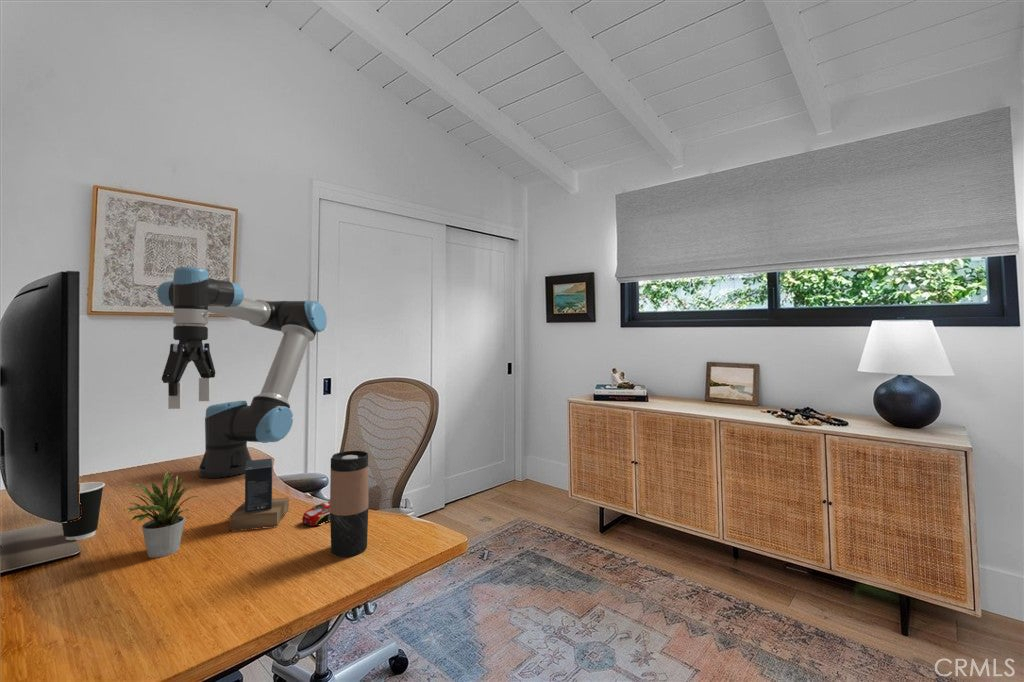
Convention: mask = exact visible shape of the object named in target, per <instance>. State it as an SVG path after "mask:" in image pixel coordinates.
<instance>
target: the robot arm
mask: <svg viewBox="0 0 1024 682" xmlns="http://www.w3.org/2000/svg"><path fill="white" fill-rule="evenodd" d="M156 292H157V293H156V296H157V299H158V301H159V302H160V303H161V304H162V305H164V306H165V307H172V308H173V312H172V313H173V317H172V319H173V320H172V323H173V324H174V325H175V326H174V327H172V329H173V332H172V333H173V336H172V337H173V340H175V341H178V343H170V345H169V353H168V356H167V360H166V364H165V367H164V369H163V372H162V376H161V381H162V382H163V384H167V386H168V387H167V390H168V394H167V395H168V398H167V401H168V402H167V403H168V407H167V408H168V410H173V409H174V410H175V409H176V410H177V409H179V410H180V409H183V383H182V382H181V379H182V377H183V375H184V373H185V372H186V371H185V370H186V368H187V367H188V364H189V363H191V362H193V364H194V366H195V368H196V369H197V372H198V374H199V375H200V377H198V402H211V400H212V399H211V397H212V396H211V393H212V392H211V386H212V385H211V380H212V379H211V378H215V377H216V369H215V366H214V362H213V359H212V355H211V351H210V350H211V349H210V343H208V342H207V343H206V342H205V343H204V342H203V341H207V340H208V339H209V328H208V326H206V325H208V323H209V321H208V318H209V317H210V314H214V315H215V314H216V315H219V316H224V317H228V318H233V319H236V320H241V321H247V322H249V323H250V324H251V325H253V326H256V327H261V328H263V329H269V330H273V331H277V332H282V334H283V336H282V338H281V340H280V343H279V346H278V347H277V351H276V353H275V356H274V359H273V361H272V363H271V366H270V369H269V371H268V373H267V376H266V378H265V380H264V384H263V386H262V389H261V391H260V393H259V394H257V395H255V396H253V398H252V399H251V402H250V405H248V402H247V400H237V401H230V402H223V403H217V404H212V405H209V406H207V407H206V410H205V416H204V431H205V432H204V434H205V440H204V441H205V442H204V443H205V450H204V454H203V457H202V460H201V462H200V465H199V467H198V476H199V477H200V478H203V477H204V478H205V479H220V478H219V477H223V478H228V477H227V476H230V477H234V476H233V475H235V476H239V475H238V474H240V475H242V473H243V474H245V469H246V465H247V461H250V460H253V459H252V456H251V454H250V452H249V451H250V450H249V449H248V444H247V443H248V442H251V443H262V444H268V443H276V442H279V441H281V440H283V439H284V438H285V437H286V436H287V435H288V434H289V432H290V430H291V428H292V426H293V423H294V419H293V418H294V417H293V415H294V414H293V412H292V410H291V405H290V403H289V400H288V399H289V396H290V394H291V391H292V389H293V385H294V383H295V380H296V377H297V375H298V371H299V370H300V369H299V368H300V367H301V363H302V360H303V358H304V355H305V353H306V350H307V347H308V345H309V342H312V341H313V340H314V339H315V337H316V335H317V333H321V332H324V331H325V329H326V328H327V324H328V322H327V320H328V318H327V313H326V310H325V308H324V306H323V305H322V304H321V303H320V302H319V301H316V300H308V299H307V300H275V301H274V300H273V301H271V300H264V299H256V300H254V299H249V298H245V297H244V296H245V295H244V294H245V293H244V289H243V287H241V285H240V284H238V283H236V282H234V281H233V282H232V281H230V280H220V279H215V278H210V276H209V272H208V270H207V269H204V268H201V267H195V266H178V267H176V268H174V271H173V280H169V281H164V282H162V283H161V284H160V285H159V286H158V288H157V291H156ZM209 313H210V314H209ZM204 478H203V479H204Z"/></svg>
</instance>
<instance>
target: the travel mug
mask: <svg viewBox="0 0 1024 682" xmlns="http://www.w3.org/2000/svg"><path fill="white" fill-rule="evenodd" d="M329 485H330V486H329V488H330V490H329V492H330V493H329V494H330V495H329V498H330V499H329V501H330V521H329V522H330V548H331V550H330V552H331V554H332V555H333V556H335V557H338V558H350V557H351V558H352V557H355V556H358V555H360V554H362V553H364V552H365V551H366V549H367V548H368V534H369V532H368V529H369V454H368V452H366V451H362V450H346V451H340V452H337V453H334V454H333V455H332V456H331V458H330V484H329Z"/></svg>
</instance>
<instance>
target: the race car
mask: <svg viewBox="0 0 1024 682" xmlns="http://www.w3.org/2000/svg"><path fill="white" fill-rule="evenodd" d="M301 520H302V524H304V525H307V526H310V527H311V526H312V527H315V525H317V526H320V525H319V524H321V523H323V522H326V521H329V520H330V500H329V501H324V502H322V503H319V504H316V505H314V506H313V507H311V508H309V509H308V510H306V511H305V512H304V513H303V515H302V519H301ZM329 522H330V521H329ZM326 523H327V522H326Z"/></svg>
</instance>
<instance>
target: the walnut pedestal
mask: <svg viewBox="0 0 1024 682" xmlns="http://www.w3.org/2000/svg"><path fill="white" fill-rule="evenodd" d="M289 501H290V499H289V497H277V498H274V497H273V498H272V509H271V510H265V511H259V512H252V513H245V501H244V502H243V503H241V505H239V506H238V508H236V509H235V510H234V511H233V512H232V513H231V514H230V515H229V531H230V530H238V531H242V530H241V529H251V530H255V529H254V528H263V527H274V526H278V527H279V525H280V524H281V523H280V521H281V520H282V519H283V520H284V518H285V517H286V516H285V514H286V513H287V512H288V510H289V509H290V508H289V506H290V504H289V503H290V502H289ZM289 511H290V510H289ZM288 513H289V512H288ZM288 513H287V514H288ZM287 514H286V515H287ZM284 516H285V517H284ZM283 517H284V518H283ZM283 520H282V521H283ZM282 521H281V522H282ZM279 523H280V524H279ZM278 524H279V525H278ZM252 528H253V529H252ZM263 529H264V528H263Z"/></svg>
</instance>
